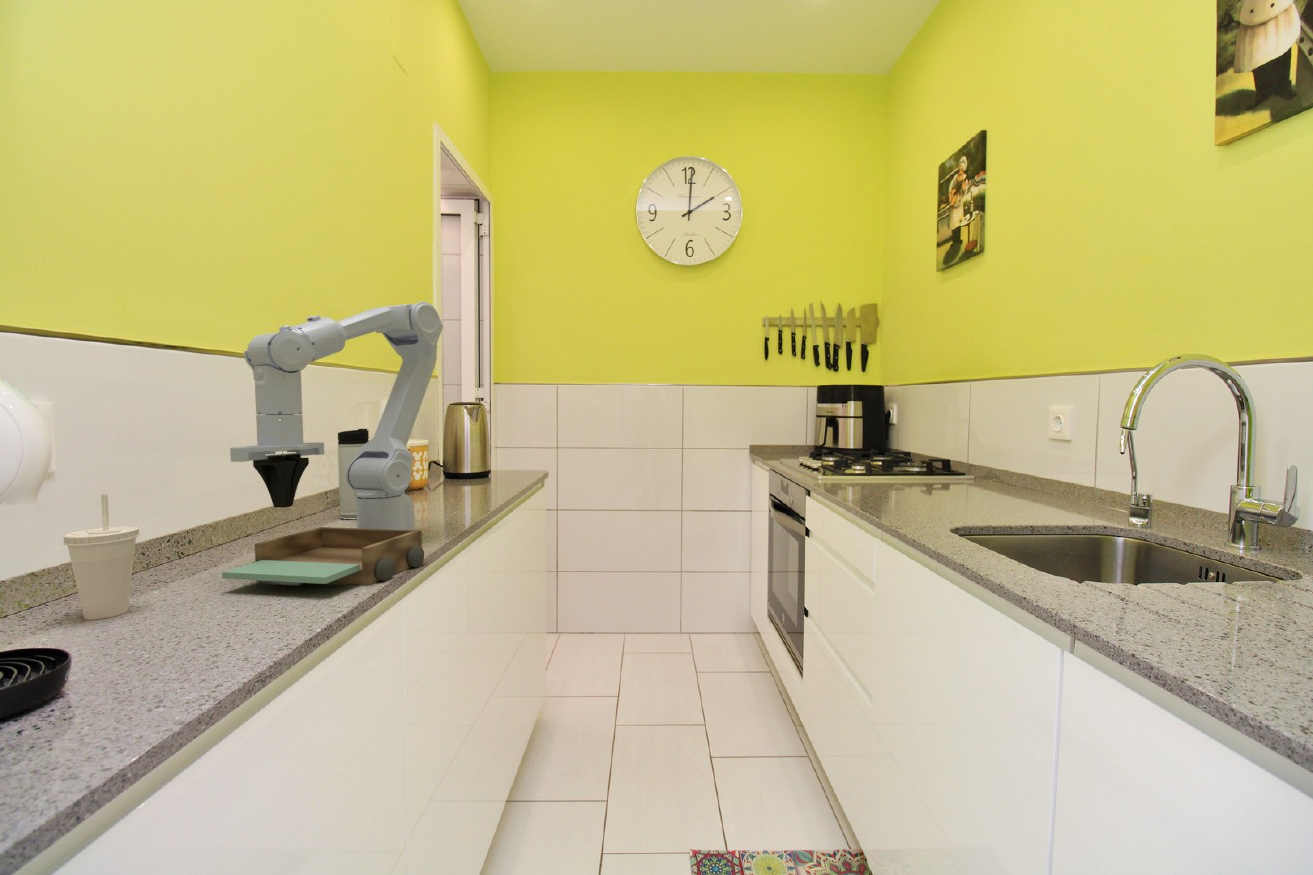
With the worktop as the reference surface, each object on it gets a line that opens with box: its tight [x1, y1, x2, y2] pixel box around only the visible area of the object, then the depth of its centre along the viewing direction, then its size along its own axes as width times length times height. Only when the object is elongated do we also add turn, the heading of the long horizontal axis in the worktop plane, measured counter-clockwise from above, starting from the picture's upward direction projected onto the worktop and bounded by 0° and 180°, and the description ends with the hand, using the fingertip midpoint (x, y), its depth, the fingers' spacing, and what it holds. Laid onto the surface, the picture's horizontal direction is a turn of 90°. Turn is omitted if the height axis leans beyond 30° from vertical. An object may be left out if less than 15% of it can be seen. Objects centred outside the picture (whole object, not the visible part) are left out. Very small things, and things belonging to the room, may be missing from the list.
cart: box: [254, 526, 425, 586], centre depth 84 cm, size 12×20×5 cm, turn 79°
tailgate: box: [221, 560, 360, 587], centre depth 76 cm, size 2×15×6 cm
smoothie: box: [62, 493, 140, 620], centre depth 66 cm, size 6×6×14 cm
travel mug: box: [337, 428, 370, 518], centre depth 129 cm, size 6×7×20 cm
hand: (283, 506), depth 85 cm, fingers closed
